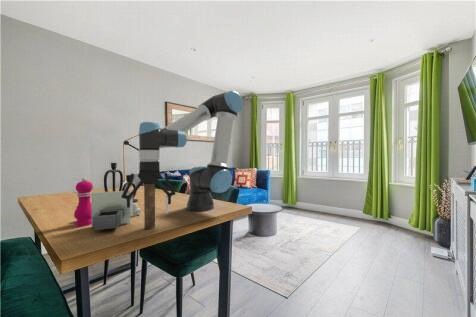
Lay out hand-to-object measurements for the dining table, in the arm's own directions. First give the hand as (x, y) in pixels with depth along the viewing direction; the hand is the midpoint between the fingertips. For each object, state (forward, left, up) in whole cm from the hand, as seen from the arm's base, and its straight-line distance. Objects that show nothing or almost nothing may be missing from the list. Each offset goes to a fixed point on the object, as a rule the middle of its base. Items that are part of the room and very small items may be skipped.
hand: (149, 214), depth 86 cm
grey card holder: (+15, -5, -6) cm, 17 cm away
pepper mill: (+26, -16, -6) cm, 31 cm away
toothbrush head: (+17, -22, -6) cm, 29 cm away
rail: (0, 0, -6) cm, 6 cm away
